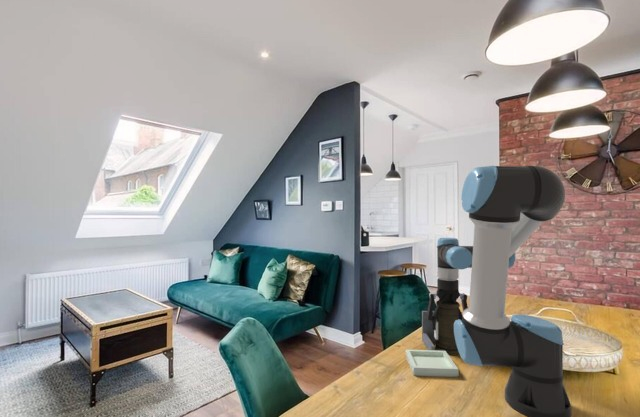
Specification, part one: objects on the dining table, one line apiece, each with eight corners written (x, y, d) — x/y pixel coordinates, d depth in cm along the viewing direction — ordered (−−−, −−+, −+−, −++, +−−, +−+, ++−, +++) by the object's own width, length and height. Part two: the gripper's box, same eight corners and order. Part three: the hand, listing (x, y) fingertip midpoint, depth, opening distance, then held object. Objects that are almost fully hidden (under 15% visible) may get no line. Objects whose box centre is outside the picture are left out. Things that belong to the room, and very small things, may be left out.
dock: (475, 357, 120) (475, 324, 120) (431, 356, 121) (431, 322, 121) (461, 341, 135) (460, 311, 135) (422, 340, 136) (422, 310, 136)
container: (463, 356, 121) (463, 306, 121) (437, 353, 123) (437, 304, 123) (458, 346, 130) (458, 299, 130) (434, 344, 132) (434, 298, 132)
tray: (458, 377, 106) (458, 369, 106) (413, 375, 107) (413, 367, 107) (445, 357, 120) (445, 350, 120) (405, 356, 121) (405, 349, 121)
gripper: (472, 277, 130) (472, 335, 129) (417, 276, 131) (417, 334, 131) (480, 281, 122) (480, 343, 122) (422, 280, 124) (422, 341, 124)
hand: (447, 338), depth 127 cm, fingers closed on container, 8 cm apart
